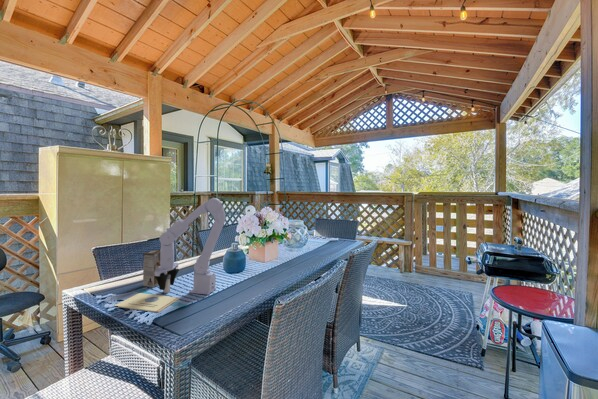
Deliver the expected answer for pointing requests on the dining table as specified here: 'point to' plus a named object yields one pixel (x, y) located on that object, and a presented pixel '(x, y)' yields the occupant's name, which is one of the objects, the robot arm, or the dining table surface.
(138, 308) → the writing pad
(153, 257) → the coffee box
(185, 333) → the dining table surface
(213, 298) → the dining table surface
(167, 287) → the marker
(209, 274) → the robot arm
